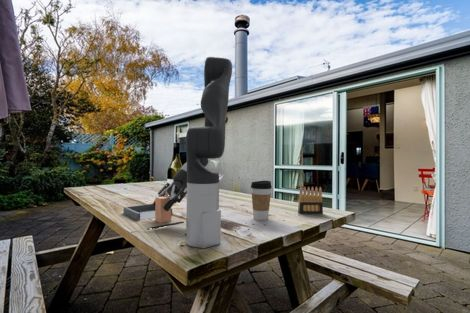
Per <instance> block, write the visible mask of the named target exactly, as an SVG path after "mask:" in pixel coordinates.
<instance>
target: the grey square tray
mask: <svg viewBox="0 0 470 313" xmlns="http://www.w3.org/2000/svg"><path fill="white" fill-rule="evenodd" d="M123 214H124V215H126V216H127V217H130V218H132V219H134V220H135V221H143V220H150V219H155V206H154V205H153V203H148V204H147V203H145V204H138V205H129V206H124V207H123ZM171 216H173V208H172V207H171Z"/></svg>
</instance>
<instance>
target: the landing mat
mask: <svg viewBox="0 0 470 313" xmlns="http://www.w3.org/2000/svg"><path fill="white" fill-rule="evenodd" d="M184 223H185V222H184V221H178V222H172V223H167V224H162V225H157V226H151V227H150V229H151V228H152V229H151V230H154V229H153V228H155V229H160V228H159V227H161V228H164V226H166V227H170V226H176V225H180V224H184Z"/></svg>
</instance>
